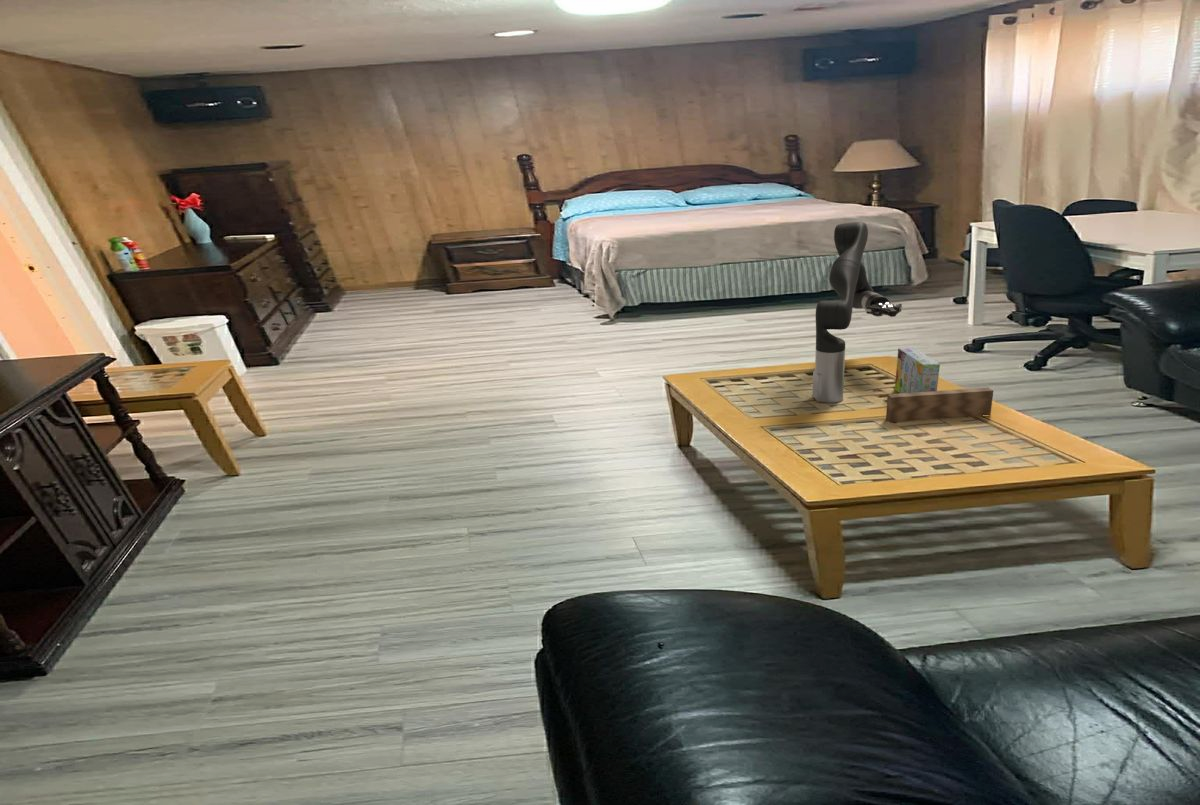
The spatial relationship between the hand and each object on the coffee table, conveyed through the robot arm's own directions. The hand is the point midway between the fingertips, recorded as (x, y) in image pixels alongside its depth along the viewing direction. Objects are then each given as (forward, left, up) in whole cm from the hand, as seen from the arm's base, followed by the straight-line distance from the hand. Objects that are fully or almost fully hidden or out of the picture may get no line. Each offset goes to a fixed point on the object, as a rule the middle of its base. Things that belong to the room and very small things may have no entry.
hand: (893, 313), depth 236 cm
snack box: (0, -21, -24) cm, 32 cm away
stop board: (0, -38, -24) cm, 45 cm away
